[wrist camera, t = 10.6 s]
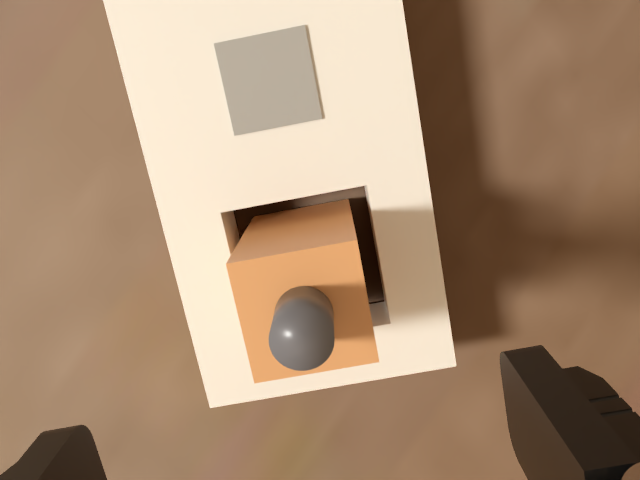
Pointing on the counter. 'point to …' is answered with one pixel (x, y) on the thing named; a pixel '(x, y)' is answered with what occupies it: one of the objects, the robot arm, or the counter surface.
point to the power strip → (284, 160)
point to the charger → (302, 293)
